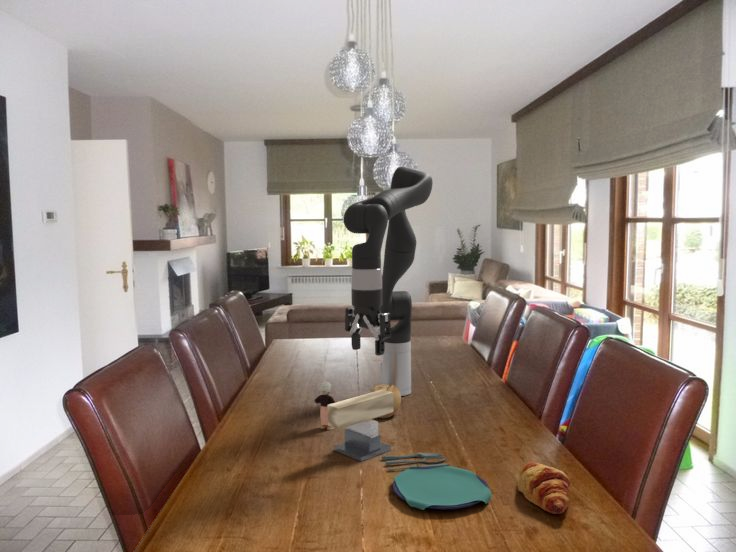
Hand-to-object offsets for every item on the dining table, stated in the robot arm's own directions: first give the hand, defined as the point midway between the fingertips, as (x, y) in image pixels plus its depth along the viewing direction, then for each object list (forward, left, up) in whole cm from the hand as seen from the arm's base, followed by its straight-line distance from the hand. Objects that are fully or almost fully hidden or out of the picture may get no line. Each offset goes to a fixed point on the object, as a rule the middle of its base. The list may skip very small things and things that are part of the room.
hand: (367, 352), depth 148 cm
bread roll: (-17, +22, -24) cm, 37 cm away
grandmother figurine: (-18, +1, -24) cm, 30 cm away
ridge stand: (+1, -3, -24) cm, 24 cm away
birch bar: (+1, -3, -16) cm, 16 cm away
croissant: (+45, +7, -24) cm, 51 cm away
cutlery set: (+25, -4, -25) cm, 35 cm away
